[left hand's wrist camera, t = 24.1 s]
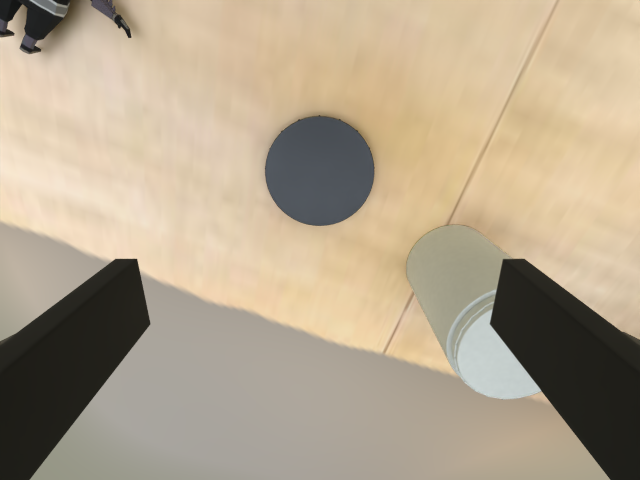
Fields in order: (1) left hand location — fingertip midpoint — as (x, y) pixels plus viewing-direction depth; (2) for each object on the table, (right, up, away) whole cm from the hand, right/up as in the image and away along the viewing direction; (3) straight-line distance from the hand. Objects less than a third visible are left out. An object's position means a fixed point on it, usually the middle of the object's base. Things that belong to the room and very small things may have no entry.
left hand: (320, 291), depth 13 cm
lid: (0, +9, +23) cm, 25 cm away
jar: (+15, -1, +29) cm, 32 cm away
